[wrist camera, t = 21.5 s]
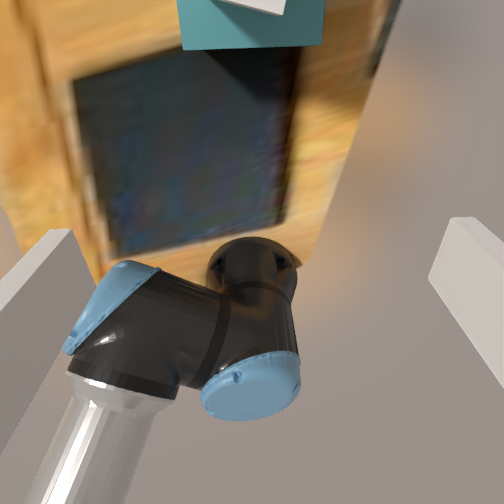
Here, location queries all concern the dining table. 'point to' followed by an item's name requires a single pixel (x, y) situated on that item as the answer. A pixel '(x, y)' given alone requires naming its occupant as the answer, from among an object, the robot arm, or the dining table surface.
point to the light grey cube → (261, 5)
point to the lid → (249, 25)
